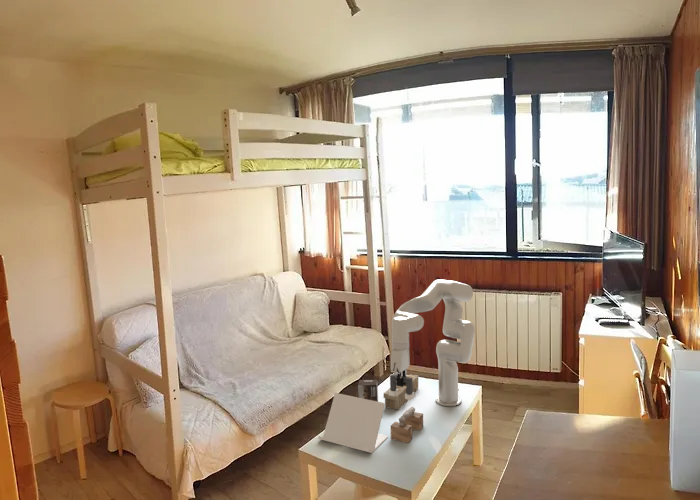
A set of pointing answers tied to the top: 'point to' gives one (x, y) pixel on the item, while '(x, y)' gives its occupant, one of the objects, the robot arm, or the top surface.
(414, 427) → the wooden handle frame
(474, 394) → the top surface
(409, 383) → the grey c-shaped block
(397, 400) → the block tower
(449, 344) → the robot arm
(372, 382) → the coffee box
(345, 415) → the tablet stand
